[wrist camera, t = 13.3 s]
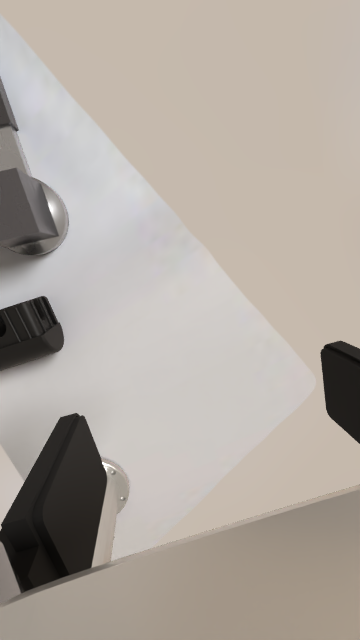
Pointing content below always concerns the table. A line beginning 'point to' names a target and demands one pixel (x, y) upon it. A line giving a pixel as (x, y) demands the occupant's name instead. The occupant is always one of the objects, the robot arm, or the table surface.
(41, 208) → the matte grey cube
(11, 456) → the table surface
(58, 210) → the ratchet
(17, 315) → the end cap
